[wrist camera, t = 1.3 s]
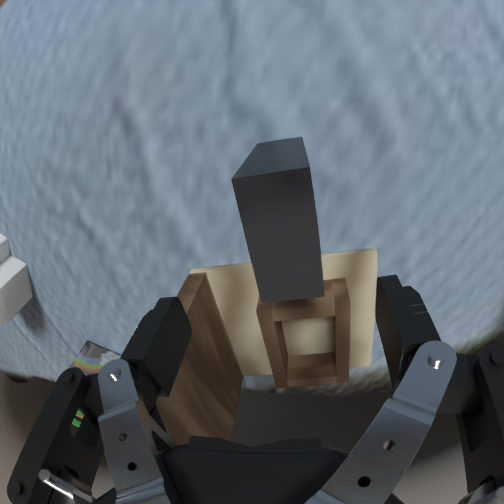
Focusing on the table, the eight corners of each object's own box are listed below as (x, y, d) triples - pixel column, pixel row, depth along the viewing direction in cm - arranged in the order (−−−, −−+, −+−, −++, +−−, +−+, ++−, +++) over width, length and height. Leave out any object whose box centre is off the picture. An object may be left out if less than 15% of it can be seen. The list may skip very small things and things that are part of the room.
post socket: (375, 248, 29) (434, 411, 12) (369, 360, 37) (384, 486, 20) (191, 268, 33) (118, 415, 16) (230, 370, 41) (202, 488, 25)
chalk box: (93, 367, 48) (60, 425, 36) (86, 338, 44) (45, 402, 31) (134, 385, 48) (106, 448, 36) (132, 358, 44) (96, 430, 31)
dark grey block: (302, 136, 24) (309, 167, 14) (314, 218, 28) (324, 296, 18) (257, 143, 25) (231, 179, 15) (273, 223, 29) (261, 302, 19)
